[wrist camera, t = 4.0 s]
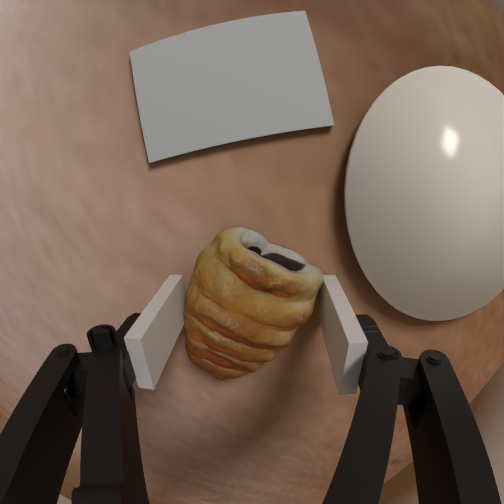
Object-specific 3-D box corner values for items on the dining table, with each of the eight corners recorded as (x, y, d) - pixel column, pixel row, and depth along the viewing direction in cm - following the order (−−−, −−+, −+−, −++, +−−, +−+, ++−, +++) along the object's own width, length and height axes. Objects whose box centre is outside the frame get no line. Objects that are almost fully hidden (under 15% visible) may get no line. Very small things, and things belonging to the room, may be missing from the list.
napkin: (151, 162, 16) (148, 162, 15) (132, 53, 14) (129, 51, 13) (332, 126, 15) (333, 125, 14) (304, 13, 12) (304, 10, 12)
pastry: (258, 376, 20) (256, 415, 16) (167, 338, 19) (149, 374, 16) (328, 261, 17) (342, 289, 13) (219, 211, 16) (204, 227, 13)
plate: (331, 319, 18) (334, 329, 17) (336, 49, 13) (341, 42, 12) (509, 302, 17) (517, 309, 16) (529, 102, 12) (539, 102, 11)
